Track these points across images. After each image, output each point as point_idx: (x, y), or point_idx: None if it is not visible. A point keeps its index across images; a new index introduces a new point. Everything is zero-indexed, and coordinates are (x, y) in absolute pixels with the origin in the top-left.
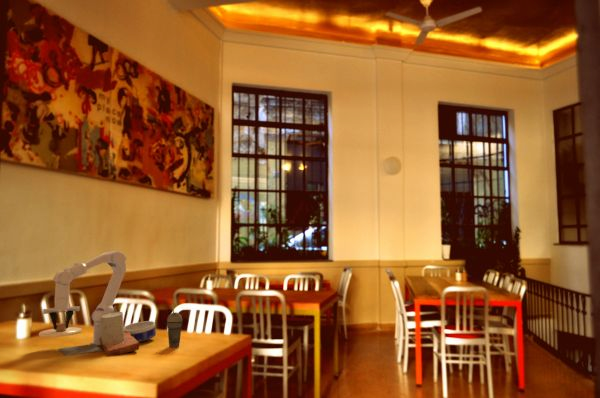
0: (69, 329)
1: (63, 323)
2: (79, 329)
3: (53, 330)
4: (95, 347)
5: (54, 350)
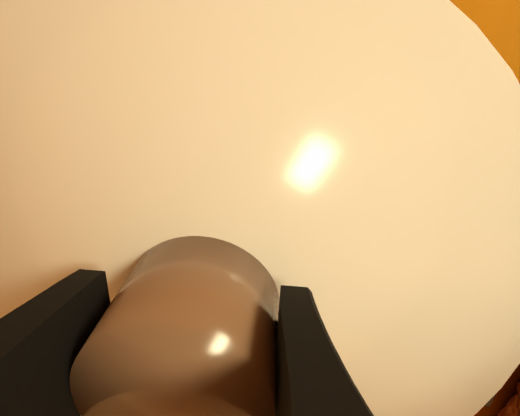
0: (356, 259)
1: (230, 356)
2: (476, 362)
3: (91, 160)
4: None
5: None
